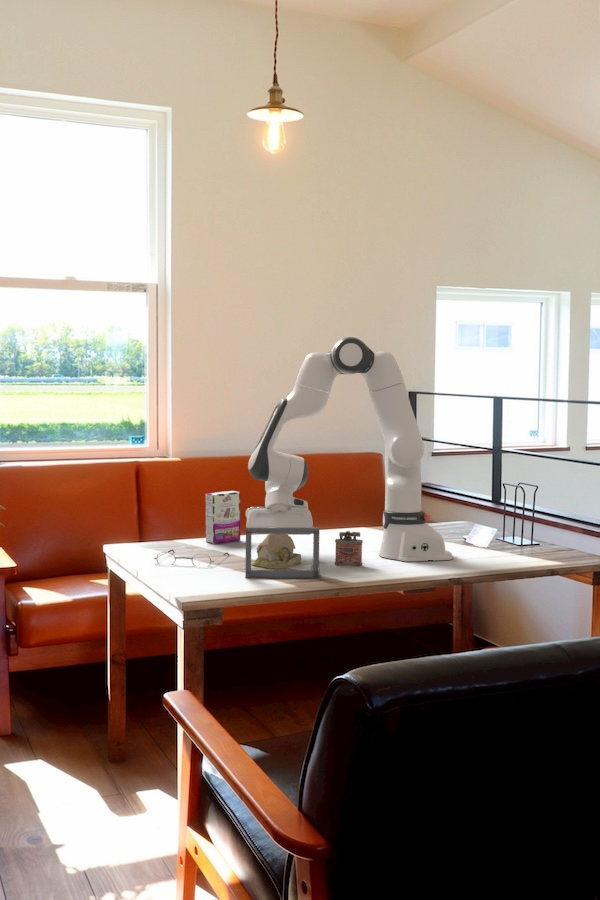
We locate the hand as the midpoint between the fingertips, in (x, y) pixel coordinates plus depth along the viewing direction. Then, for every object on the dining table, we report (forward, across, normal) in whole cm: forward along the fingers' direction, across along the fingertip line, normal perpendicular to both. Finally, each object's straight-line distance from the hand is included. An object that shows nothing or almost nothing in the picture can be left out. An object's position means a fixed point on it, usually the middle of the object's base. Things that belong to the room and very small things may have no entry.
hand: (279, 544), depth 277 cm
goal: (+17, 0, -10) cm, 19 cm away
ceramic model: (+7, -1, 0) cm, 7 cm away
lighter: (+8, +20, -1) cm, 22 cm away
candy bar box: (-19, -18, +26) cm, 37 cm away
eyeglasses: (+3, -26, +5) cm, 27 cm away
